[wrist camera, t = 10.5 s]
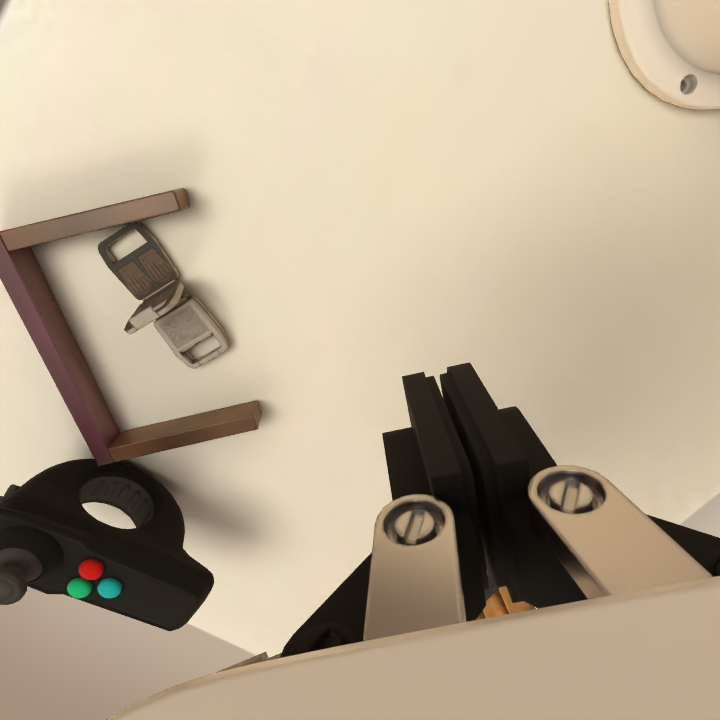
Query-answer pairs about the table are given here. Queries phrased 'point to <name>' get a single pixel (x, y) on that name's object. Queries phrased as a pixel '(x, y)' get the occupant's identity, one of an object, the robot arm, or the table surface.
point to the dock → (63, 357)
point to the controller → (100, 544)
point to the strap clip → (163, 298)
